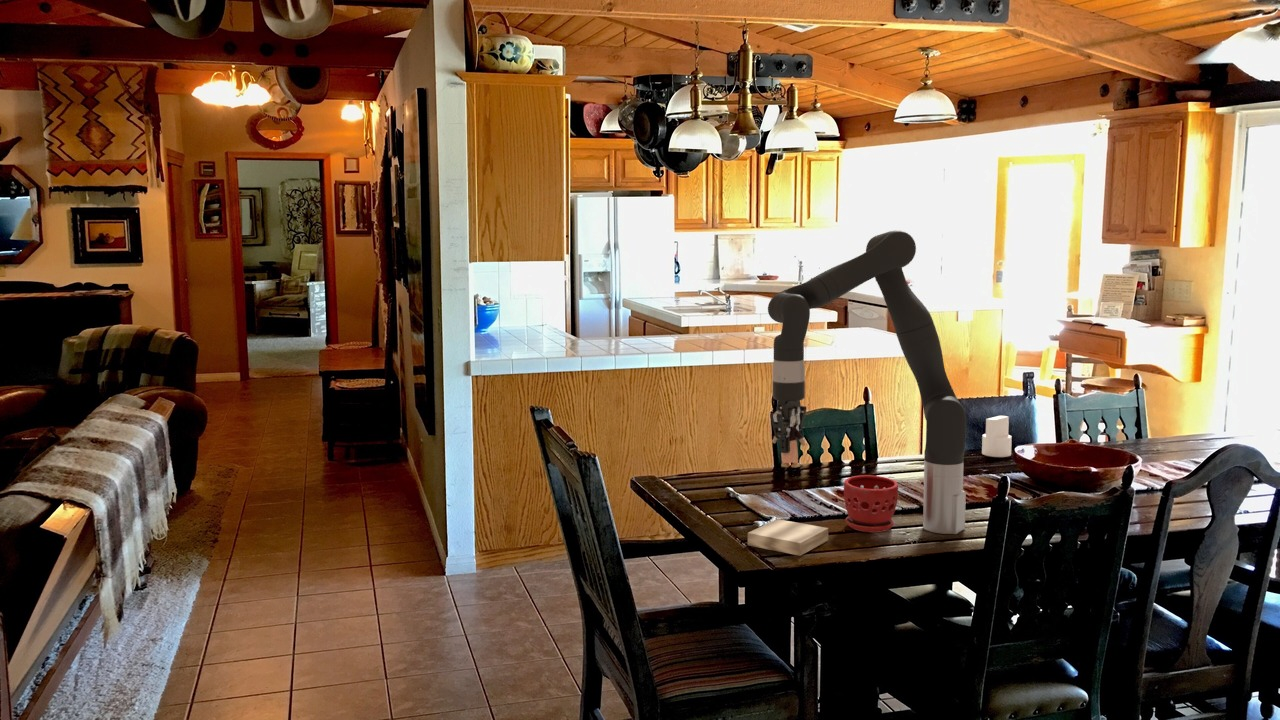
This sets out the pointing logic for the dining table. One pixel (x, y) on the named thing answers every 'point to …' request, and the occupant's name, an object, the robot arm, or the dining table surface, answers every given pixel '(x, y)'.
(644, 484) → the dining table surface
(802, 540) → the birch platform
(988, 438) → the base with upright slab
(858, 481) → the plant pot
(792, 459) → the grandmother figurine
